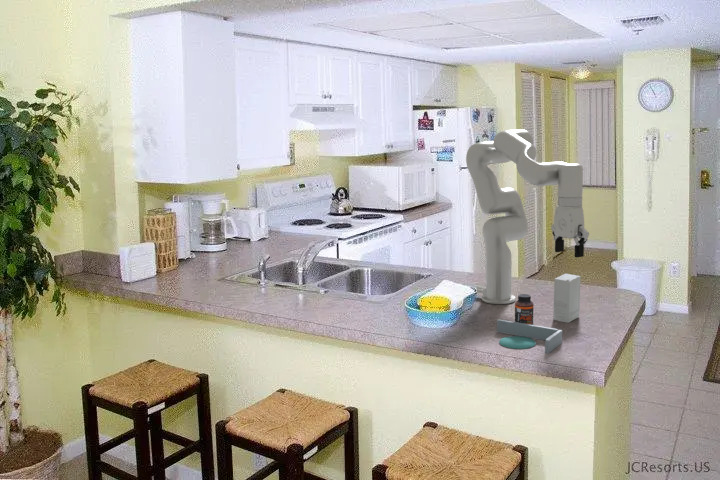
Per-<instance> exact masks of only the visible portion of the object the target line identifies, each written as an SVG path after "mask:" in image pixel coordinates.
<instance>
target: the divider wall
mask: <svg viewBox="0 0 720 480" xmlns="http://www.w3.org/2000/svg"><path fill="white" fill-rule="evenodd" d="M496 332H497V333H501V334H508V335H512V336H521V337H527V338H531V339H535V340H542V341H544V353H545V354H550V353H551V352H552V351H553V350H555V349H556V348H558V346H560V345H561V344H562V343H563V329H558V328H555V327H549V326H541V325H535V324H533V325H530V324H524V323H518V322H515V321H510V320H505V319H497V320H496Z"/></svg>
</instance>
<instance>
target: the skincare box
mask: <svg viewBox="0 0 720 480" xmlns="http://www.w3.org/2000/svg"><path fill="white" fill-rule="evenodd" d="M553 287H554V288H553V318H552V319H553V320H554V321H558V322H564V323H568V324H569V323H571V322H572V321H574V320H576V319H578V318H579V317H580V309H581V308H580V301H581V275H577V274H570V273H563V274H562V275H560V276H557V277H555V278H554V285H553Z"/></svg>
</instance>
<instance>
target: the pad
mask: <svg viewBox="0 0 720 480" xmlns="http://www.w3.org/2000/svg"><path fill="white" fill-rule="evenodd" d="M498 343H499V345H501V346H502V347H504V348H506V349H507V348H508V349H513V350H514V349H515V350H526V349H531V348H533V347H535V346H536V345H537V343H536V341H535V340H534V338H529V337H523V336H517V335H512V336H505V337H502V338H500V339H499V341H498Z"/></svg>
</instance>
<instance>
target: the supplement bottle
mask: <svg viewBox="0 0 720 480" xmlns="http://www.w3.org/2000/svg"><path fill="white" fill-rule="evenodd" d="M531 299H532V298H531V295H530V294H528V293H520V294H518V295H517V301H516V300H515V301H514V302H515V303H514V322H518V323H524V324H530V325H534V302H533V301H532V300H531Z"/></svg>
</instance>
